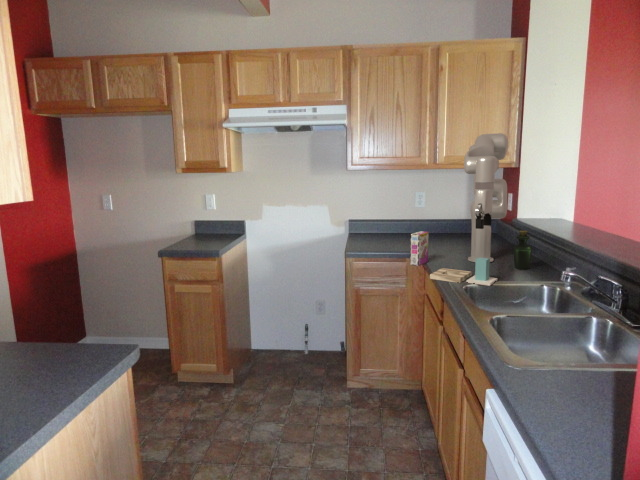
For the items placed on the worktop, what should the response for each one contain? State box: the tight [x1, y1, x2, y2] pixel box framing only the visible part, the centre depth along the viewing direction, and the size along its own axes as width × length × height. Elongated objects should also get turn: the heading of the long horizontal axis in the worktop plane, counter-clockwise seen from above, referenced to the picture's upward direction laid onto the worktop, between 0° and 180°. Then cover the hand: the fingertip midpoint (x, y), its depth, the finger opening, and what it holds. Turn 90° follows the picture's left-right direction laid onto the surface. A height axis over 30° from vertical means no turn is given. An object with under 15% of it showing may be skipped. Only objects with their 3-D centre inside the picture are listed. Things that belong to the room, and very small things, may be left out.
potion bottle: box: [512, 230, 533, 271], centre depth 210 cm, size 8×8×18 cm
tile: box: [465, 274, 498, 287], centre depth 191 cm, size 10×10×1 cm
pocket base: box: [429, 267, 473, 284], centre depth 199 cm, size 14×14×2 cm
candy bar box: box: [409, 230, 430, 267], centre depth 227 cm, size 11×5×16 cm, turn 141°
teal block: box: [474, 257, 491, 281], centre depth 190 cm, size 4×4×9 cm
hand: (483, 227), depth 187 cm, fingers open, 9 cm apart
